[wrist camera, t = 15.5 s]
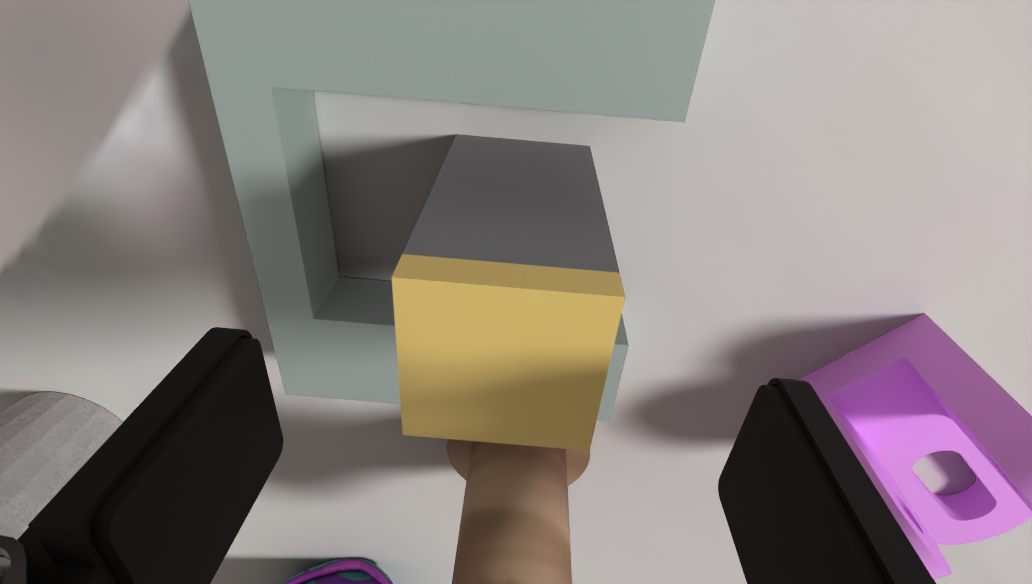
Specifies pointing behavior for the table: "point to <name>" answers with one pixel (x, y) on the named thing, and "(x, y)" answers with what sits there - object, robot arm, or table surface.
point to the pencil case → (341, 573)
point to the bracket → (931, 435)
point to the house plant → (45, 451)
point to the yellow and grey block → (508, 298)
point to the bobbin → (514, 512)
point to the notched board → (413, 75)
